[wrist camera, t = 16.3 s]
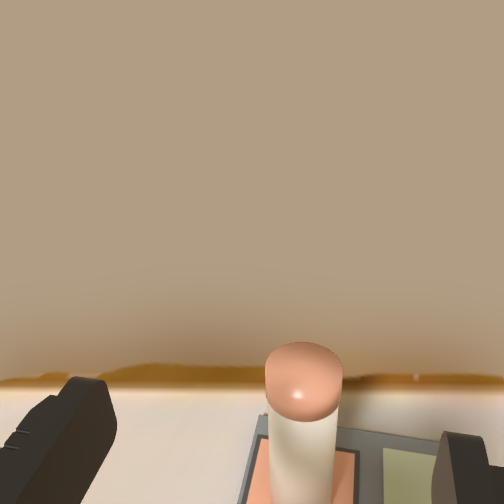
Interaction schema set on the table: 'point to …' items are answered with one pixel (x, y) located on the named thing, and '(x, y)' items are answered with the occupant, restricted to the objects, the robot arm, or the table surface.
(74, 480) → the robot arm
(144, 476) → the table surface
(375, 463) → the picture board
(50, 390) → the table surface
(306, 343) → the marker
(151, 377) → the table surface
